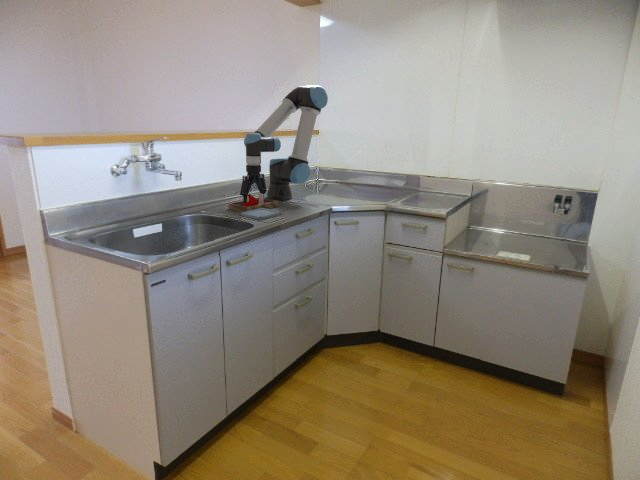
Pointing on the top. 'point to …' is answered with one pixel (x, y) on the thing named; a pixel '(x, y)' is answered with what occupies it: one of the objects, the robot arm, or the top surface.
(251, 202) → the gemstone
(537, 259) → the top surface
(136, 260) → the top surface
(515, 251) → the top surface
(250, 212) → the tray
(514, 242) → the top surface
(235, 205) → the frame
